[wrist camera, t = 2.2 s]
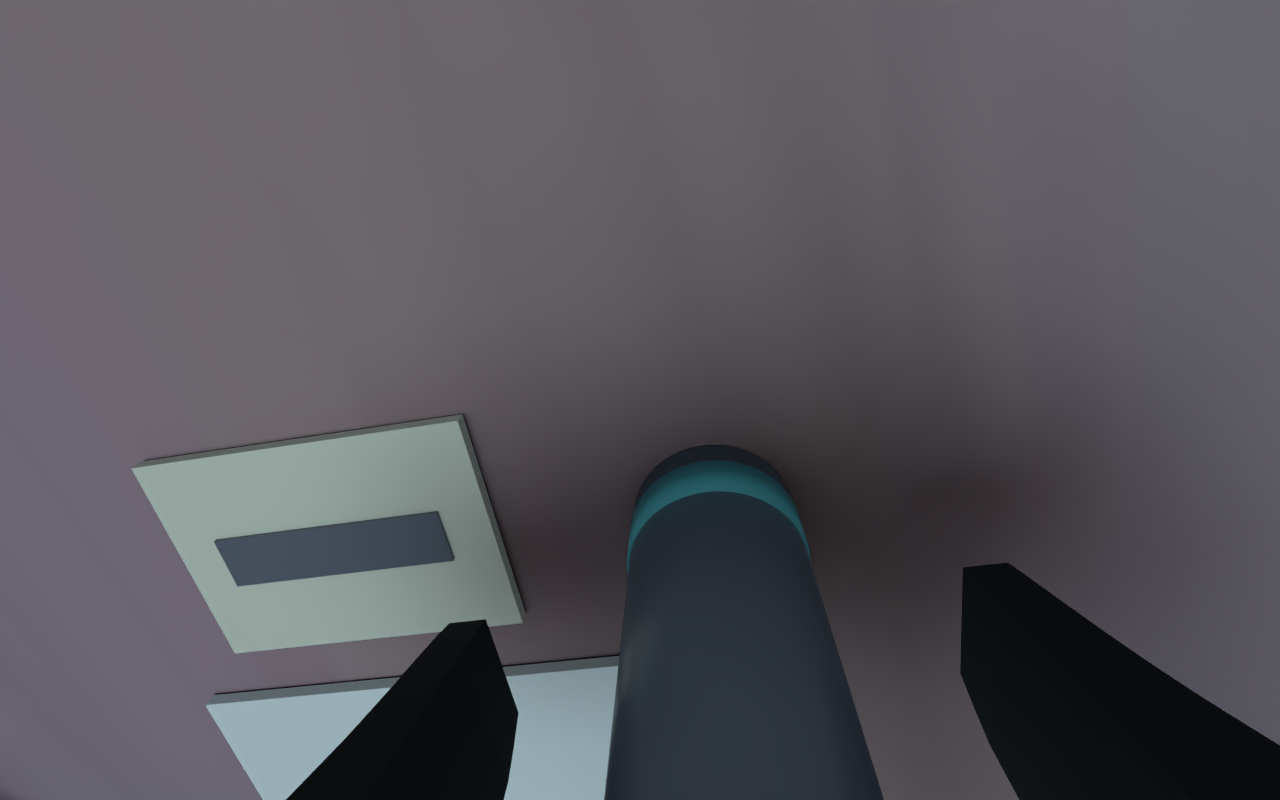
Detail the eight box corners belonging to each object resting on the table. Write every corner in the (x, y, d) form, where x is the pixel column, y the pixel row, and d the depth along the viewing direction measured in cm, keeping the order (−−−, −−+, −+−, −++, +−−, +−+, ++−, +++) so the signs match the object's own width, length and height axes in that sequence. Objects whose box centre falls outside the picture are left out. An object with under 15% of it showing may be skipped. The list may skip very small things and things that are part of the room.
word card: (462, 414, 12) (456, 422, 12) (525, 613, 14) (521, 625, 14) (142, 461, 13) (128, 470, 13) (242, 643, 15) (232, 655, 15)
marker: (786, 432, 12) (1076, 1232, 3) (800, 570, 13) (1038, 1415, 5) (618, 455, 13) (485, 1223, 4) (647, 587, 14) (598, 1395, 5)
